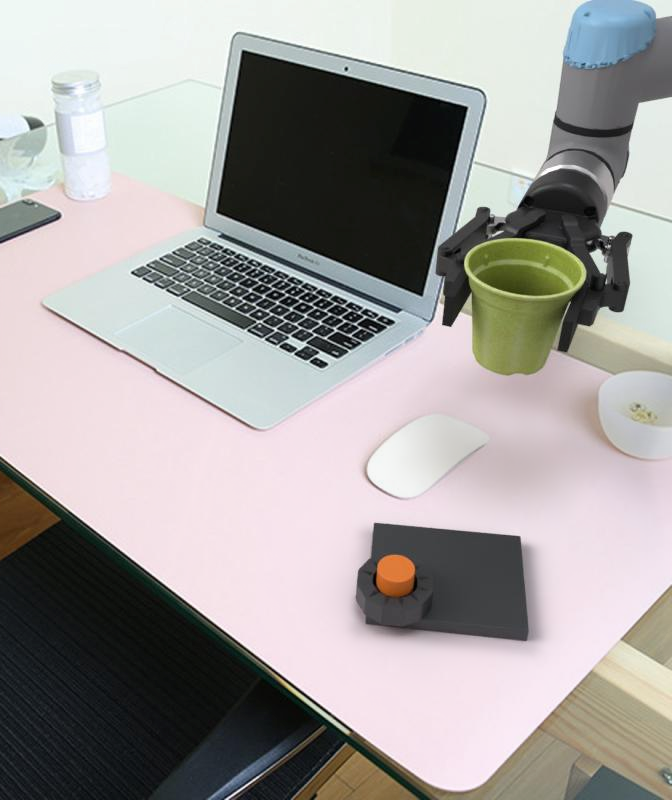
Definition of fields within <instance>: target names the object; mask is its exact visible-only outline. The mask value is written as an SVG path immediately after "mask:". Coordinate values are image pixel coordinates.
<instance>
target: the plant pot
mask: <svg viewBox="0 0 672 800" xmlns="http://www.w3.org/2000/svg"><path fill="white" fill-rule="evenodd" d="M464 267H465V271H466V273H467V275H468V276H469V285H470V288H471V290H472V292H471V339H472V341H471V350H472V354H473V356H474V359H475V361H476V362H477V363H478V364H479V365H480V366H481V367H482V368H484V369H486V370H488V371H490V372H492V373H494V374H498V375H501V376H508V377H509V376H512V375H516V374H517V375H525V376H529V375H534V374H536V373H537V372H539V371H541V370H542V369H543V368H544V367H545V365H546V364H547V361H548V358H549V357H550V353H551V351H552V348H553V345H554V342H555V339H556V336H557V334H558V332H559V329H560V328H561V327H560V326H561V325H562V322H563V319H564V317H565V314H566V312H567V310H568V307H569V305H570V302H571V300H572V298H573V296H574V294H575V293H576V292H577V291H578V290H579V289H580V288H581V287H582V285H583V284H584V282H585V279H586V269H585V267H584V264H583V263H582V262H581V261H580V259H579V258H577V257H576V256H575V255H573V254H572V253H570V252H569V251H567V250H565V249H563V248H561V247H559V246H556V245H554V244H550V243H547V242H543V241H538V240H532V239H521V238H506V239H498V240H492V241H488V242H485V243H482V244H480V245H477V246H476V247H474V248H473V249H472V250H470V251H469V252H468V254H467V255H466V257H465V261H464Z"/></svg>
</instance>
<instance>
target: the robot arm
mask: <svg viewBox="0 0 672 800" xmlns="http://www.w3.org/2000/svg"><path fill="white" fill-rule="evenodd" d="M567 31H568V32H567V36H566V41H565V44H564V47H563V50H562V64H561V65H562V66H561V67H562V68H561V74H560V81H559V87H558V95H557V104H556V109H555V112H554V117H553V120H552V125H551V131H550V136H549V137H550V138H549V144H548V149H547V150H548V151H547V155H546V158H545V159H544V162H543V164H542V165H541V167H540V169H539V171H538V172H537V173H536V175H535V176H534V179H533V180H531V183H530V185H529V187H528V189H527V190H526V191H525V193H524V195H523V197H522V199H521V200H520V202H519V204H518V206H517V207H516V209H515V210H514V211H512V212H509V213H508V214H507V215H506V216H497V215H496V214H494V213H491V210H492V209H491V208H490V207H488V206H478V207H477V208H476V212H475V216H474V217H473V218H471V219H470V220H468V222H466V223H465V224H464V225H462V227H460V228H459V229H458V230H457V231H455V232H454V233H453V234H452V235H450V236H449V237H448V238H447V239H445V240H444V241H442V243H441V244H439V246H437V252H436V261H435V263H436V264H435V275H436V276H438V277H443V278H444V279H443V286H442V287H443V288H442V295H443V296H444V303H443V311H442V322H441V326H443V327H449V328H452V327H453V325H454V323H455V321H456V319H457V318H458V316H459V315H460V313H461V311H462V309H463V308H464V307H465V305H466V303H467V301H468V299H469V298H470V296H471V295H472V290H471V288H470V285H469V276H468V275H467V273H466V271H465V267H464V261H465V257H466V255H467V254H468V252H469V251H470V250H472V249H473V248H474V247H476V246H477V245H480V244H482V243H485V242H488V241H492V240H498V239H506V238H521V239H532V240H538V241H543V242H547V243H550V244H554V245H556V246H559V247H561V248H563V249H565V250H567V251H569V252H570V253H572V254H573V255H575V256H576V257H577V258H579V259H580V261H581V262H582V263H583V264H584V267H585V269H586V279H585V282H584V284H583V285H582V287H581V288H580V289H579V290H578V291H577V292H576V293H575V294H574V296H573V298H572V300H571V302H569V304H568V306H567V309H566V311H565V314H564V316H563V319H562V322H561V327H560V328H561V329H560V335H559V340H558V344H557V349H556V351H557V352H562V353H566V354H567V353H569V349H570V346H571V344H572V342H573V339H574V337H575V334H576V331H577V329H578V326H579V325H581V326H585V327H589V328H590V327H592V326H593V325H594V324H595V321H596V318H597V317H598V316H597V315H598V314H599V311H600V310H601V309H602V308H608V310H609V311H611V312H613V313H623V312H624V311H625V307H626V303H627V299H628V295H629V290H630V286H631V278H630V277H631V276H630V266H629V253H630V249H631V245H632V240H633V233H632V232H629V231H619V232H618V233H617V234H616V235H609V236H608V235H605V234H603V232H602V229H601V227H602V225H603V222H604V220H605V218H606V216H607V213H608V211H609V207H610V205H611V202H612V200H613V197H614V195H615V193H616V190H617V188H618V186H619V184H620V182H621V180H622V179H623V178H624V177H625V174H626V171H627V167H628V164H629V158H630V141H631V137H632V131H633V128H634V124H635V120H636V116H637V112H638V108H639V104H642V103H647V102H653V101H657V100H658V101H659V100H664V99H668V98H672V15H670V16H669V15H668V16H662V17H657V13H656V11H655V9H654V8H653V7H652V6H651V5H649V4H647V3H644V2H642V1H639V0H588V1H585V2H583V3H582V4H580V5H579V6H578V7H576V9H575V10H574V12H573V14H572V16H571V22H570V25H569V27H568V30H567ZM498 232H499V233H498ZM597 250H599V251H601V255H602V256H603V263H605V264H606V267H605V268H606V269H605V273H603V272H601V271H600V270H599V267H598V266H597V264H596V261H594V258H593V257H592V255H591V253H595V252H596V251H597Z"/></svg>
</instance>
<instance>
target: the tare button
mask: <svg viewBox="0 0 672 800" xmlns="http://www.w3.org/2000/svg"><path fill="white" fill-rule="evenodd" d="M414 577H415V566H414V564H413V563H412V561H411V560H409V559H408V558H406V557H404V556H401V555H389V556H386V557H384V558H382V559H381V560H380V561H379V563H378V567H377V580H376V584H377V587H378V589H379V591H380V592H381V593H383V594H384V595H386V596H388V597H392V598H401V597H404V596H407V595H408V594H409V593H410V592H411V591H412V590H413V586H414Z"/></svg>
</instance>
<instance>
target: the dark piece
mask: <svg viewBox="0 0 672 800" xmlns="http://www.w3.org/2000/svg"><path fill="white" fill-rule="evenodd" d="M372 528H373V529H372V540H371V549H370V557H369V558H368V559H367V560H366V561H365V562H364V563H363V564H362V565H361V567H359V569H357V570H358V571H357V578H356V589H355V601H356V603H357V605H358V606H359V608H360V610H361V611H362V613H363V615H365V618H364V619H365V620H364V622H365V623H364V624H365V625H369V626H380V627H389V628H397V629H399V628H400V629H407V630H408V629H409V630H418V631H427V632H428V631H429V632H437V633H446V634H454V635H456V634H457V635H465V636H473V637H483V638H494V639H501V640H502V639H503V640H510V641H511V640H512V641H521V642H527V640H528V636H529V632H530V631H529V629H530V628H529V618H528V608H527V607H528V606H527V596H526V595H527V594H526V583H525V571H524V562H523V561H524V559H523V549H522V548H523V547H522V538H521V536H520V535H512V534H501V533H491V532H480V531H470V530H461V529H460V530H458V529H448V528H438V527H437V528H436V527H425V526H415V525H405V524H393V523H392V524H391V523H384V522H373V527H372ZM389 555H401V556H404V557H406V558H408V559H409V560H411V561H412V563H413V564H414V566H415V577H414V586H413V590H412V591H411V592H410V593H409V594H408V595H407V596H404V597H401V598H392V597H388V596H386V595H384V594H383V593H381V592H380V591H379V589H378V587H377V584H376V580H377V567H378V563H379V561H380V560H381V559H382V558H384V557H386V556H389Z"/></svg>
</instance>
